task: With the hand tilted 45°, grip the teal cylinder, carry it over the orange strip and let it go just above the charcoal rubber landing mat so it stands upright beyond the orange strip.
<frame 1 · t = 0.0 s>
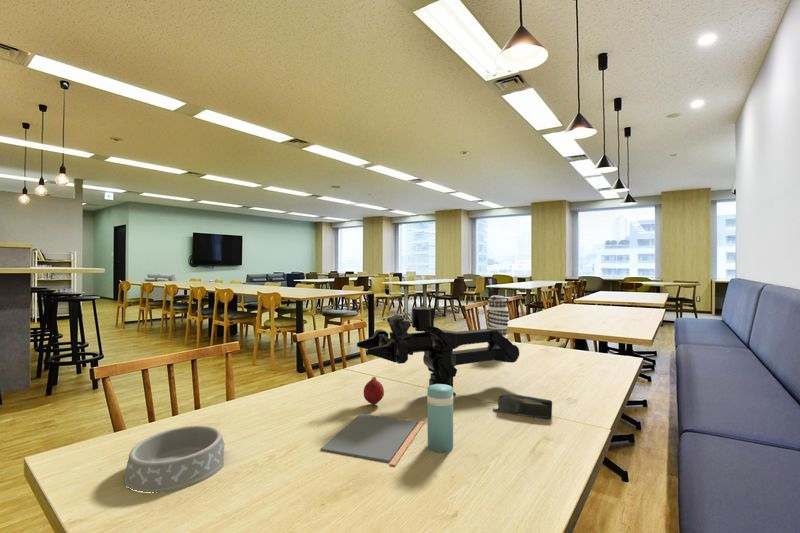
hand: (362, 348, 110), 17 cm above the table, tool horizontal, fingers open, 9 cm apart
onion: (373, 405, 112), on the table
mat: (372, 435, 93), on the table
teal cylinder: (440, 446, 87), on the table
dog bowl: (178, 469, 79), on the table
grey patterned cylinder: (497, 354, 169), on the table
black stapler: (521, 415, 105), on the table
orange strip: (409, 441, 90), on the table
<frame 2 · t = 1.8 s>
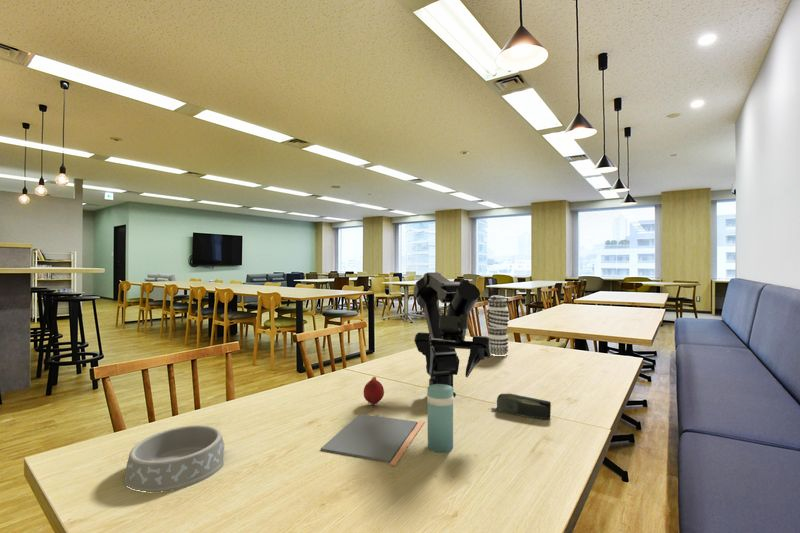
hand: (447, 374, 95), 14 cm above the table, tool tilted 45°, fingers open, 9 cm apart
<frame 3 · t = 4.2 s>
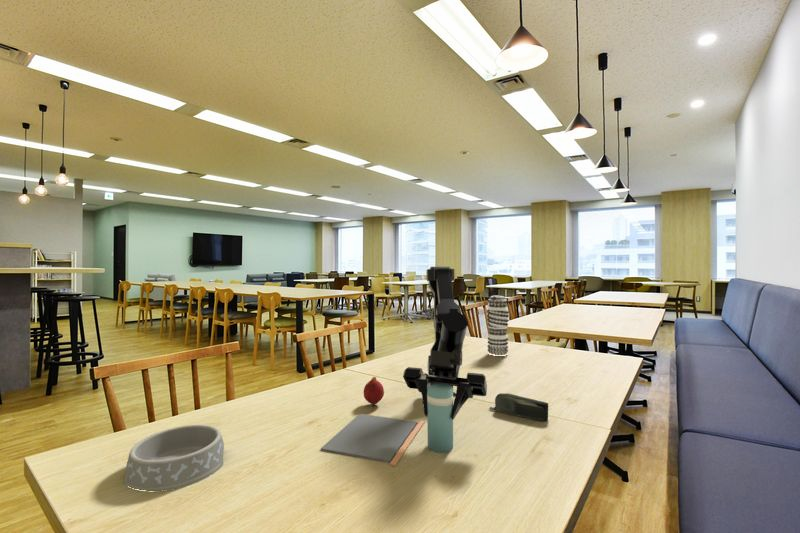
hand: (438, 417, 86), 7 cm above the table, tool tilted 45°, fingers closed on teal cylinder, 6 cm apart
teal cylinder: (440, 446, 87), on the table, touching gripper
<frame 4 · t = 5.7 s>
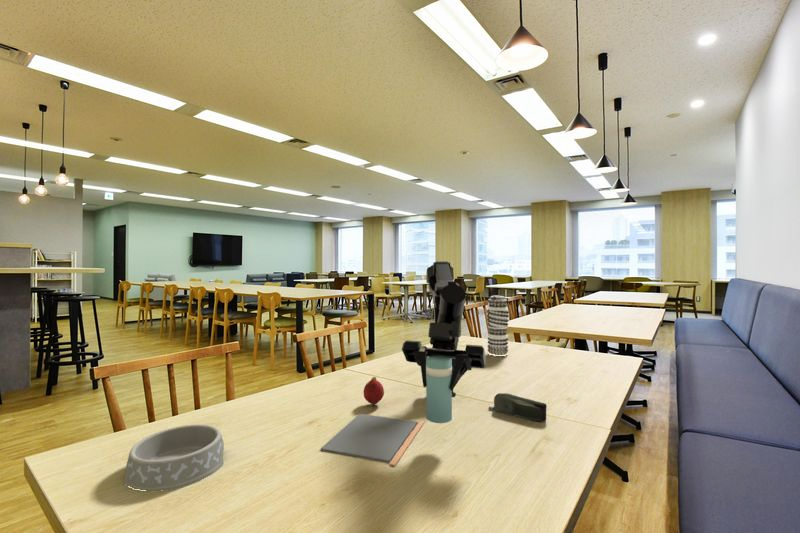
hand: (437, 387, 86), 13 cm above the table, tool tilted 45°, fingers closed on teal cylinder, 6 cm apart
teal cylinder: (439, 417, 87), point 6 cm above the table, touching gripper
when the fingers open (9 cm above the table, at t = 8.3 s): teal cylinder drops 1 cm, resting on mat.
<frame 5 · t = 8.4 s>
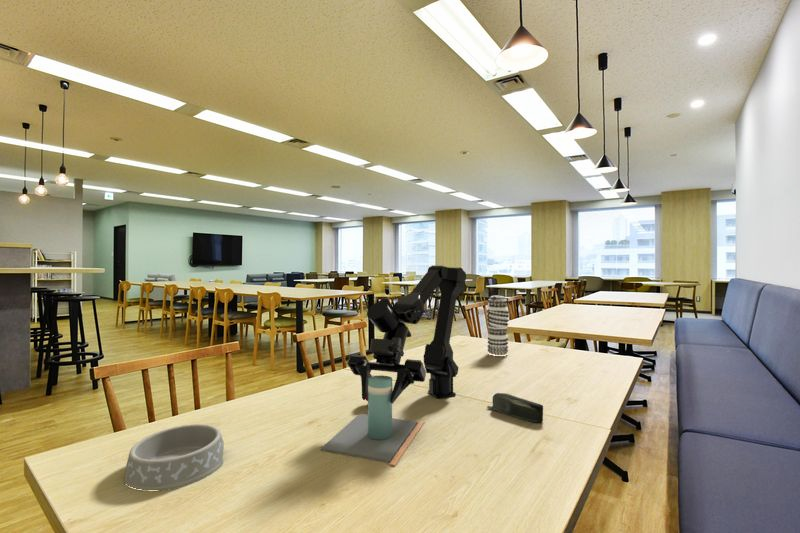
hand: (377, 400, 91), 9 cm above the table, tool tilted 45°, fingers open, 7 cm apart
teal cylinder: (379, 434, 92), point 1 cm above the table, touching mat
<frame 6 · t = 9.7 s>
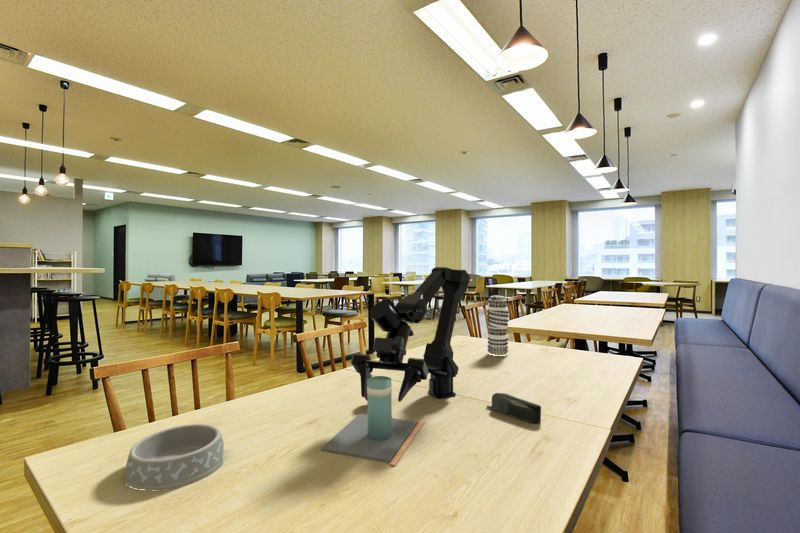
hand: (380, 398, 92), 9 cm above the table, tool tilted 45°, fingers open, 9 cm apart
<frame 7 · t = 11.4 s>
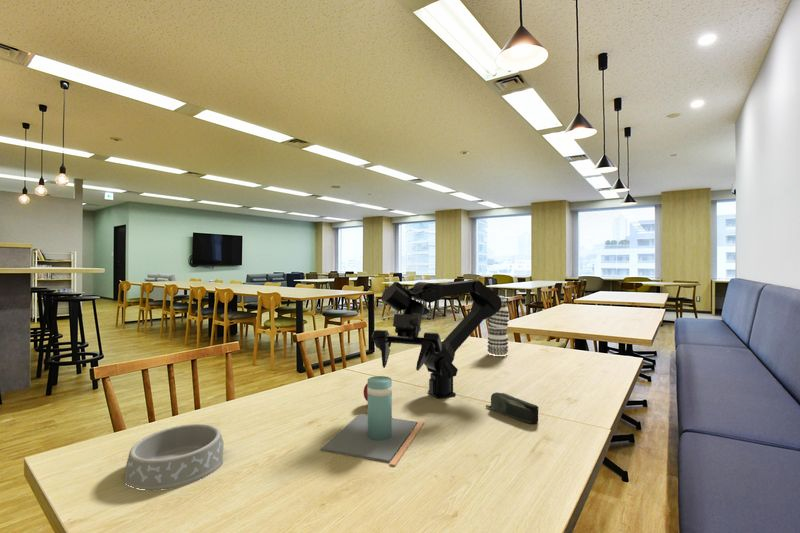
hand: (400, 368, 103), 13 cm above the table, tool tilted 45°, fingers open, 9 cm apart
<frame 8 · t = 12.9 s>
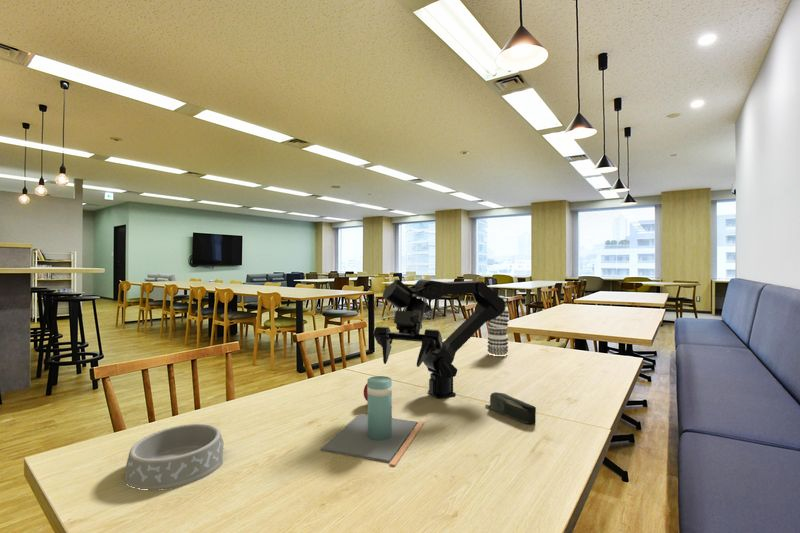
hand: (400, 364, 104), 14 cm above the table, tool tilted 45°, fingers open, 9 cm apart
at the end: teal cylinder touching mat; teal cylinder tilted 0°; the gripper is holding nothing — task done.
